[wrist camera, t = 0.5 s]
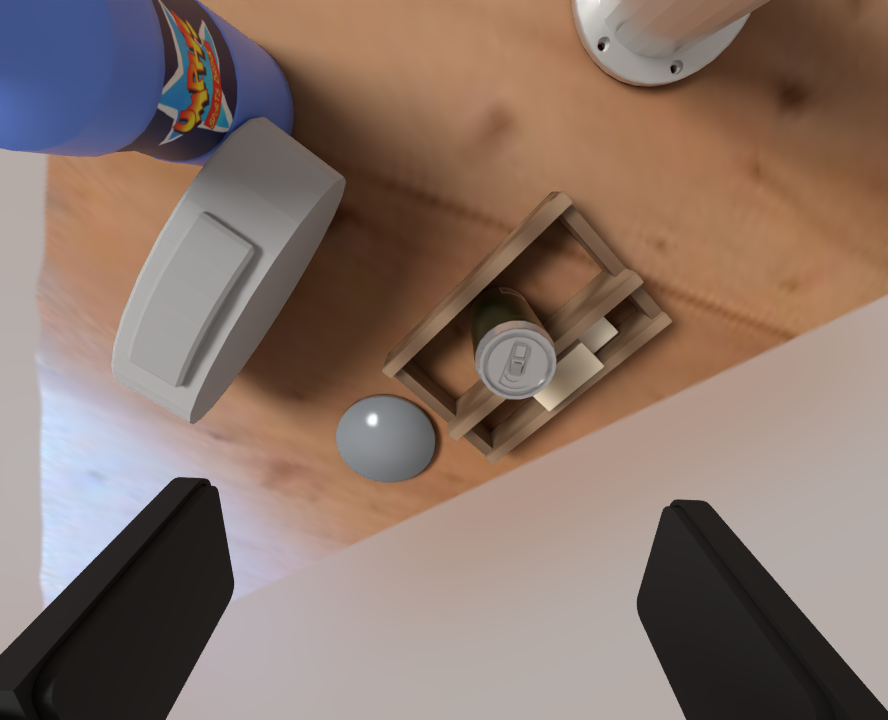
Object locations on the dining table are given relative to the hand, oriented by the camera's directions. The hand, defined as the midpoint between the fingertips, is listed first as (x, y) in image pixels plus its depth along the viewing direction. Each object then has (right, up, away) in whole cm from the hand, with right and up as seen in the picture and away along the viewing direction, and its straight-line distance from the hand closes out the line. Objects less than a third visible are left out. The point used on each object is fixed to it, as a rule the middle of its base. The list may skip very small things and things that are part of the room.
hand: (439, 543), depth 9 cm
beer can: (+5, +8, +29) cm, 31 cm away
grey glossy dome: (-6, -4, +34) cm, 35 cm away
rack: (+7, +6, +30) cm, 31 cm away
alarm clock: (-16, +12, +28) cm, 34 cm away
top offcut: (+10, +3, +29) cm, 31 cm away
